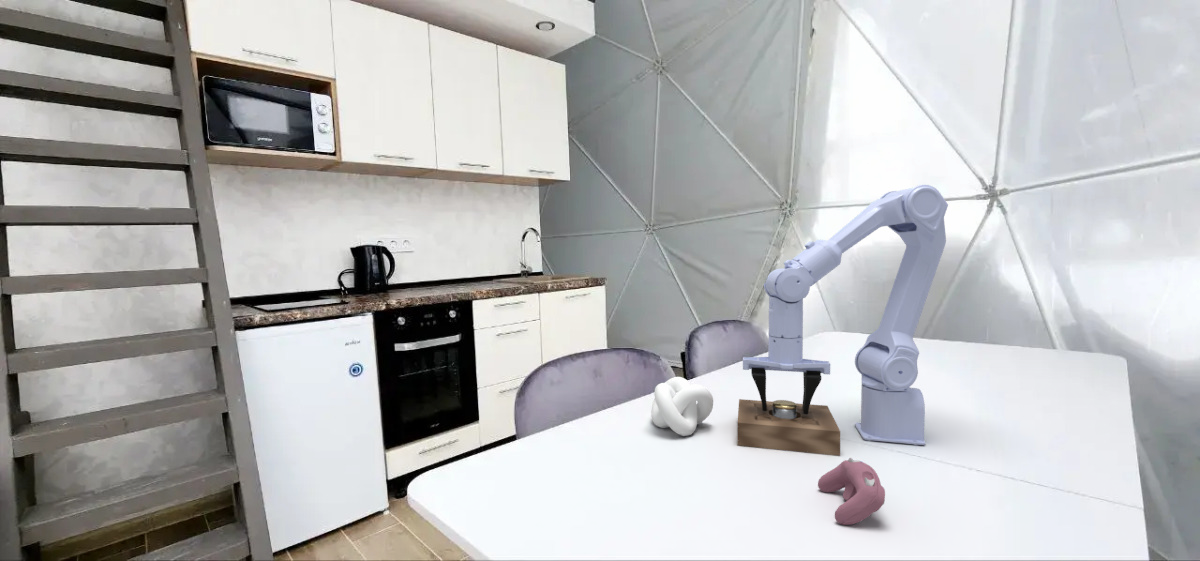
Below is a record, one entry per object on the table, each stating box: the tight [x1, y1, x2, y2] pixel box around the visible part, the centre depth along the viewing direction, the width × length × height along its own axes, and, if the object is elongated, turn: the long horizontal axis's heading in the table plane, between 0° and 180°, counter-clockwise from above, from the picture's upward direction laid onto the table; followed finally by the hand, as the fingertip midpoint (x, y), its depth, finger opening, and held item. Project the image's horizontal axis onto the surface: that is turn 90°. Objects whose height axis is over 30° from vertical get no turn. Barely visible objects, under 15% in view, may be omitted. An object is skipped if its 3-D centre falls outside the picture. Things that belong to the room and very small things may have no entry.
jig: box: [736, 398, 841, 457], centre depth 88 cm, size 16×14×4 cm
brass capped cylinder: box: [772, 399, 797, 419], centre depth 88 cm, size 4×4×6 cm
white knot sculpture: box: [650, 376, 714, 437], centre depth 93 cm, size 11×12×9 cm
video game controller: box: [817, 457, 886, 526], centre depth 63 cm, size 10×5×7 cm, turn 169°
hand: (784, 410), depth 88 cm, fingers open, 6 cm apart
